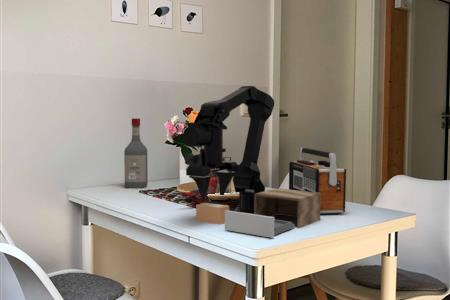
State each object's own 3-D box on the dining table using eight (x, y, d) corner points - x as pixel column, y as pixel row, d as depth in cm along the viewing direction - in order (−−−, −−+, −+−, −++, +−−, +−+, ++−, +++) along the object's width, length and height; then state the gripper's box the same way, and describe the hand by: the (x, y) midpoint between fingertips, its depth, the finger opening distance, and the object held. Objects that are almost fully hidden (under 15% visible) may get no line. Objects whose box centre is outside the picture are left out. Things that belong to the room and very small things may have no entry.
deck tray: (272, 237, 126) (272, 217, 125) (224, 229, 134) (224, 210, 134) (297, 227, 137) (297, 209, 137) (252, 220, 146) (252, 203, 145)
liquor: (145, 188, 210) (144, 118, 208) (123, 188, 210) (123, 118, 207) (148, 185, 219) (147, 118, 217) (127, 185, 219) (127, 118, 217)
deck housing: (299, 228, 138) (299, 199, 138) (254, 221, 147) (254, 193, 146) (320, 219, 150) (320, 192, 149) (277, 213, 158) (277, 188, 158)
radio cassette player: (287, 200, 183) (288, 147, 182) (313, 200, 185) (314, 147, 184) (317, 216, 154) (318, 153, 153) (347, 215, 156) (349, 153, 155)
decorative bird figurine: (221, 205, 173) (222, 176, 172) (180, 210, 162) (180, 180, 161) (216, 203, 175) (217, 176, 174) (175, 209, 164) (175, 179, 163)
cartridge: (196, 221, 147) (196, 204, 147) (205, 218, 151) (205, 202, 150) (220, 225, 142) (220, 207, 142) (229, 222, 146) (229, 205, 145)
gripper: (210, 142, 157) (210, 190, 158) (171, 145, 142) (171, 198, 143) (239, 144, 151) (238, 194, 152) (201, 147, 136) (201, 202, 137)
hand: (212, 197), depth 146 cm, fingers open, 9 cm apart
